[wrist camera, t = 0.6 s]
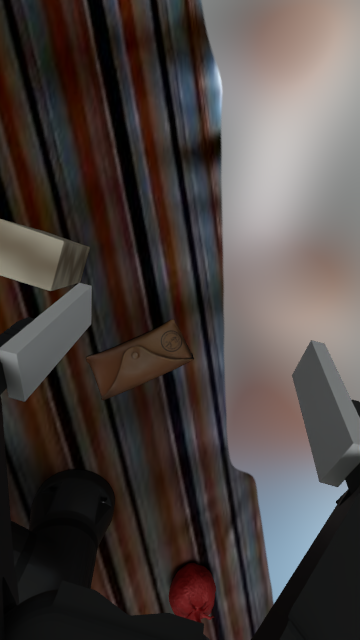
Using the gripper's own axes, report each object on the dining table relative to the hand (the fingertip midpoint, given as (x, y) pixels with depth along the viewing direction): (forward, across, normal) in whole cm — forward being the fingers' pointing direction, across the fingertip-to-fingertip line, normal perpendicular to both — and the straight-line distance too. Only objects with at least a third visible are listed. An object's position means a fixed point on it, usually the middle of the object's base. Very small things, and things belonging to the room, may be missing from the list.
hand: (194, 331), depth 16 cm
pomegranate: (+10, -13, +70) cm, 72 cm away
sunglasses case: (+24, +8, +24) cm, 35 cm away
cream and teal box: (+26, +23, +10) cm, 36 cm away
